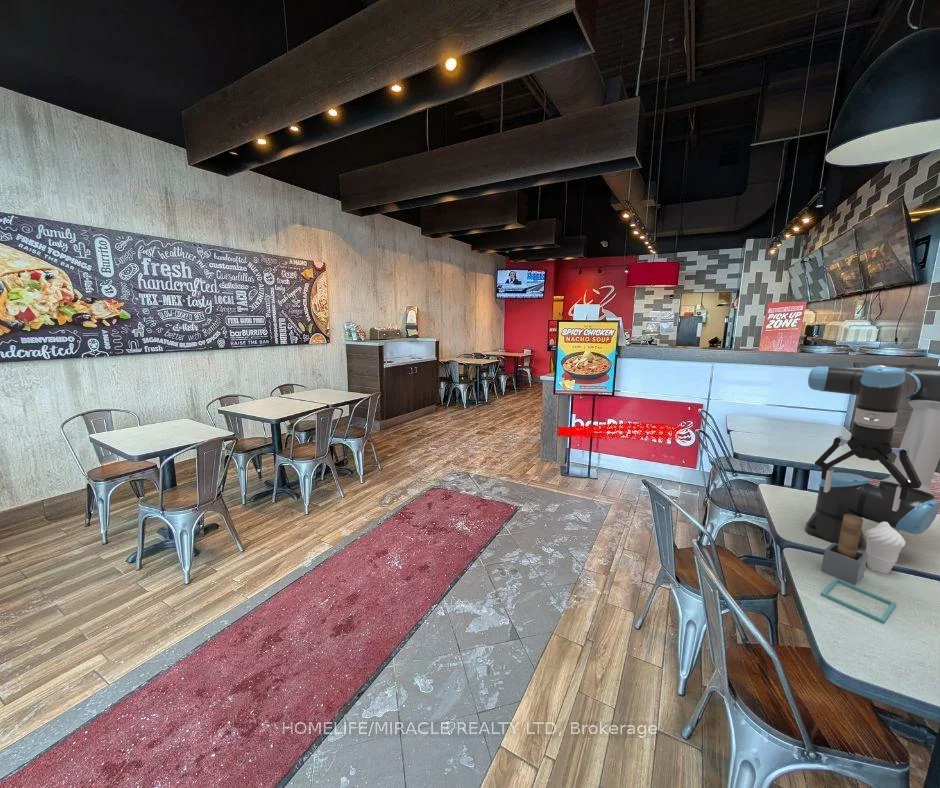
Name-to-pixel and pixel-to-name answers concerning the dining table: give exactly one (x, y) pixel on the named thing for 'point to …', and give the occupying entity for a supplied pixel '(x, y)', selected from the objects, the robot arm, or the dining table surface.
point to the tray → (878, 619)
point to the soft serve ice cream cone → (883, 547)
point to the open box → (844, 565)
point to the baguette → (849, 535)
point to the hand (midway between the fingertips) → (859, 499)
